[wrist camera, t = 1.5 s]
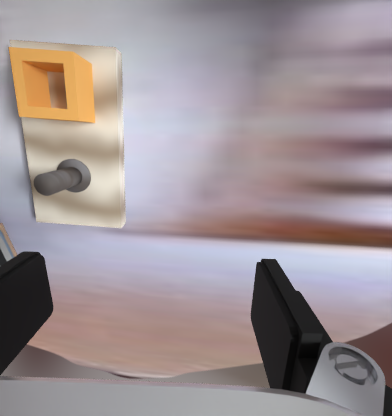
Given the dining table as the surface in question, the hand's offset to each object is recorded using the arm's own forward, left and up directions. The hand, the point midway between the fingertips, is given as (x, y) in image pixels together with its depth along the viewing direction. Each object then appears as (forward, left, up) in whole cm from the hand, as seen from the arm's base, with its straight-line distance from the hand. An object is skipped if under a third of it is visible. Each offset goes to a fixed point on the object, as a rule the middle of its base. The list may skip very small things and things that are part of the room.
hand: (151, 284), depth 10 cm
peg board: (-4, -15, -23) cm, 28 cm away
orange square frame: (-10, -15, -21) cm, 28 cm away
